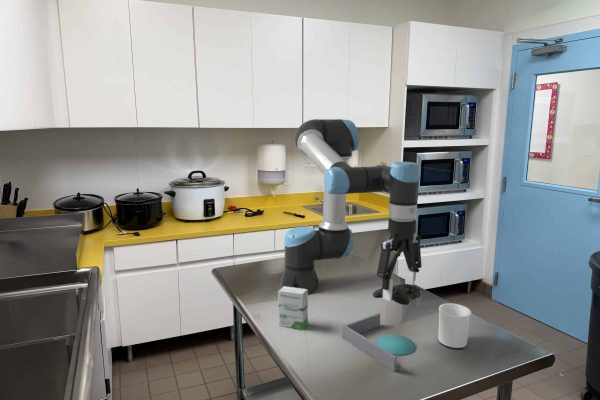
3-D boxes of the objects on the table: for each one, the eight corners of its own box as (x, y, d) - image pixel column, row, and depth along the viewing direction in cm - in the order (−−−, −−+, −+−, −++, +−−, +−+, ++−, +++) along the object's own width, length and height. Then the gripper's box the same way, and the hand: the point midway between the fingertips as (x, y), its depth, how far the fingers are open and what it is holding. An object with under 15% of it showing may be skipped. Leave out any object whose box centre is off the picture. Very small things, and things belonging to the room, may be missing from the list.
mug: (465, 353, 117) (468, 319, 115) (433, 344, 122) (435, 312, 120) (472, 337, 126) (475, 305, 124) (442, 329, 131) (444, 298, 129)
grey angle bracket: (342, 337, 125) (342, 325, 125) (377, 324, 134) (378, 312, 133) (393, 371, 109) (394, 357, 108) (431, 354, 117) (432, 341, 116)
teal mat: (368, 342, 123) (368, 341, 123) (394, 331, 129) (394, 330, 129) (396, 359, 114) (396, 358, 114) (423, 347, 120) (423, 346, 120)
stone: (375, 292, 125) (375, 275, 124) (421, 299, 120) (422, 281, 119) (370, 301, 119) (370, 284, 118) (418, 308, 114) (419, 290, 113)
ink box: (308, 323, 134) (308, 288, 132) (303, 330, 130) (303, 294, 127) (283, 319, 137) (283, 284, 135) (277, 325, 132) (277, 290, 130)
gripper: (385, 226, 106) (381, 310, 110) (438, 216, 117) (433, 292, 122) (364, 220, 112) (361, 300, 116) (417, 211, 124) (412, 284, 128)
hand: (398, 296), depth 119 cm, fingers closed on stone, 8 cm apart
